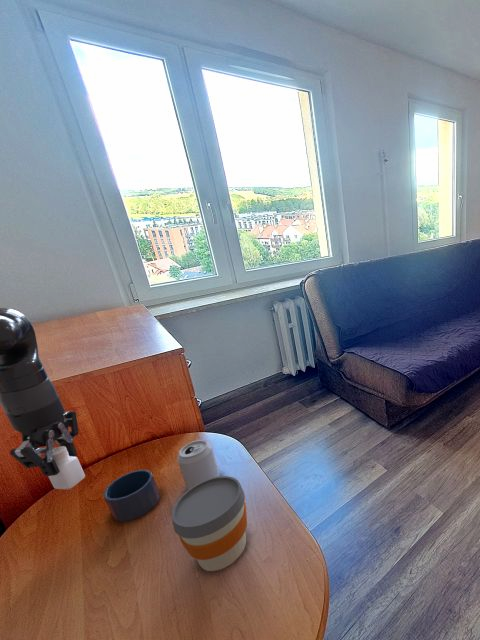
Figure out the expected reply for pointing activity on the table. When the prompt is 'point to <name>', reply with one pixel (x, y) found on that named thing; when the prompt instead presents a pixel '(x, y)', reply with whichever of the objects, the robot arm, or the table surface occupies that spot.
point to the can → (197, 462)
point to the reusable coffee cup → (212, 522)
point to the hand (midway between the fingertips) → (62, 465)
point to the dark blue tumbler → (132, 495)
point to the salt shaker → (66, 469)
